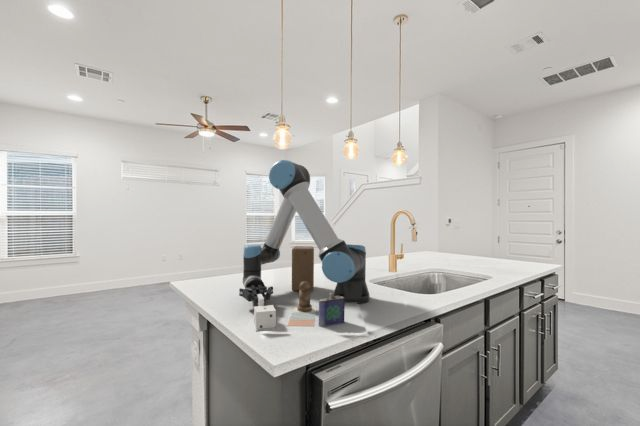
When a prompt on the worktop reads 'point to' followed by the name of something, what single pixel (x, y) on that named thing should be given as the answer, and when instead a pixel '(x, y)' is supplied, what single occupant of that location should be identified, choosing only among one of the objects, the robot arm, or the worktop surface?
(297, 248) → the wooden block
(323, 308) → the flask
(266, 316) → the white die
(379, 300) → the worktop surface
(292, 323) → the board
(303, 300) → the pawn
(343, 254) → the robot arm
